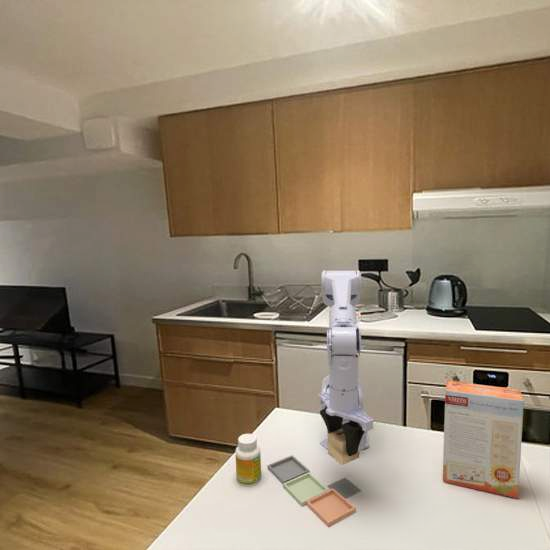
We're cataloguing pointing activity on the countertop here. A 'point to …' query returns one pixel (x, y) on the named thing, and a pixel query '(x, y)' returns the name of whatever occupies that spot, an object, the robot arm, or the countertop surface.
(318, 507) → the terracotta dish
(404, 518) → the countertop surface
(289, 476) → the charcoal dish
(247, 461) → the supplement bottle
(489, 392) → the cracker box
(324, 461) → the countertop surface
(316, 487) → the sage dish
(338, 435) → the letter cube
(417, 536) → the countertop surface
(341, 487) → the slate mat
